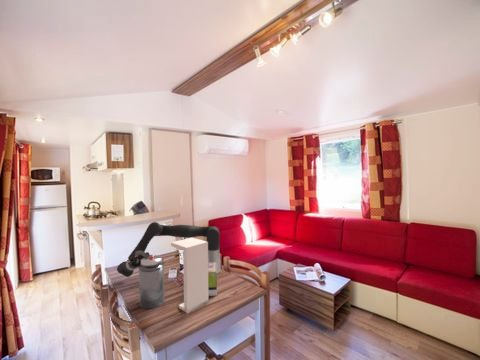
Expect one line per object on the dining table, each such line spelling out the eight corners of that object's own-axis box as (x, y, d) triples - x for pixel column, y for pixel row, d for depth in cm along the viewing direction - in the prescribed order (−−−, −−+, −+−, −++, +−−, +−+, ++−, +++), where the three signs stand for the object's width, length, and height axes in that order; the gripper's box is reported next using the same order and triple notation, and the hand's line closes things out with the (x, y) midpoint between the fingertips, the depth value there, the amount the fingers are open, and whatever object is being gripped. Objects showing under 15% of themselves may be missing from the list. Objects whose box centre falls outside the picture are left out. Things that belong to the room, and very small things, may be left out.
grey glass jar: (162, 293, 136) (162, 259, 136) (166, 305, 124) (166, 267, 124) (138, 299, 130) (137, 263, 130) (139, 312, 118) (139, 272, 118)
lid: (128, 258, 135) (128, 251, 135) (146, 253, 143) (146, 246, 143) (146, 268, 119) (146, 260, 119) (165, 262, 127) (165, 255, 127)
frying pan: (181, 256, 203) (181, 249, 203) (187, 260, 193) (187, 252, 193) (144, 264, 184) (144, 256, 184) (148, 269, 174) (148, 261, 174)
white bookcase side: (171, 302, 126) (171, 242, 126) (192, 293, 137) (191, 237, 136) (187, 313, 116) (186, 247, 116) (208, 302, 127) (207, 241, 126)
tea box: (201, 284, 148) (201, 262, 148) (217, 284, 149) (217, 261, 148) (199, 296, 133) (199, 271, 133) (217, 296, 134) (216, 271, 133)
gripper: (146, 265, 147) (157, 257, 137) (123, 272, 137) (133, 264, 126) (143, 254, 149) (154, 245, 139) (121, 260, 139) (130, 251, 129)
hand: (144, 254), depth 133 cm, fingers closed on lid, 3 cm apart
